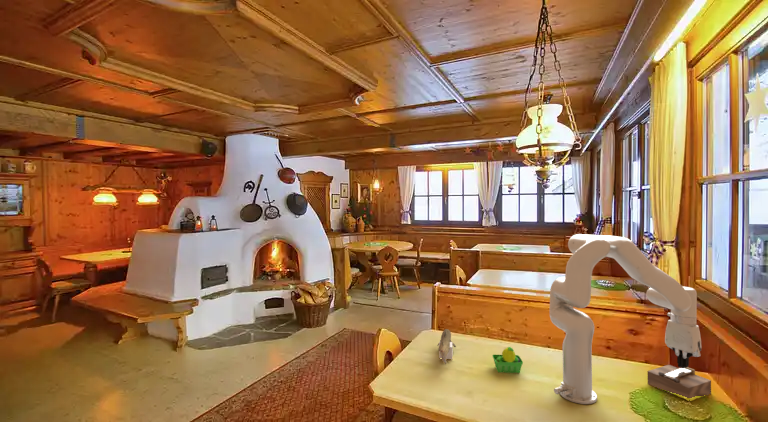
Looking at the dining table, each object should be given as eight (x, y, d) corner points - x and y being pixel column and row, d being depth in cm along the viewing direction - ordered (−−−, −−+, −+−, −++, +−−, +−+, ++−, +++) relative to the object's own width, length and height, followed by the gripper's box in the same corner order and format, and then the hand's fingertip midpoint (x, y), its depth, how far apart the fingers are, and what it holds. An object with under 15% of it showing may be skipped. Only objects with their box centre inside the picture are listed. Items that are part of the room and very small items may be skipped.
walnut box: (689, 402, 127) (689, 383, 126) (647, 383, 140) (647, 366, 139) (711, 393, 131) (711, 375, 131) (668, 376, 144) (668, 360, 144)
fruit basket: (518, 366, 157) (518, 340, 157) (524, 376, 148) (524, 349, 148) (492, 365, 158) (491, 340, 158) (496, 375, 150) (495, 348, 149)
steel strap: (672, 379, 132) (672, 377, 132) (663, 376, 135) (663, 374, 135) (691, 372, 136) (691, 370, 136) (682, 369, 139) (682, 367, 139)
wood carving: (433, 376, 150) (432, 350, 150) (438, 343, 184) (438, 322, 184) (455, 377, 148) (454, 351, 148) (456, 344, 183) (455, 322, 182)
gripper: (655, 314, 142) (655, 360, 142) (700, 327, 128) (700, 377, 128) (668, 312, 144) (667, 357, 145) (713, 324, 130) (712, 373, 131)
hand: (682, 366), depth 136 cm, fingers closed
